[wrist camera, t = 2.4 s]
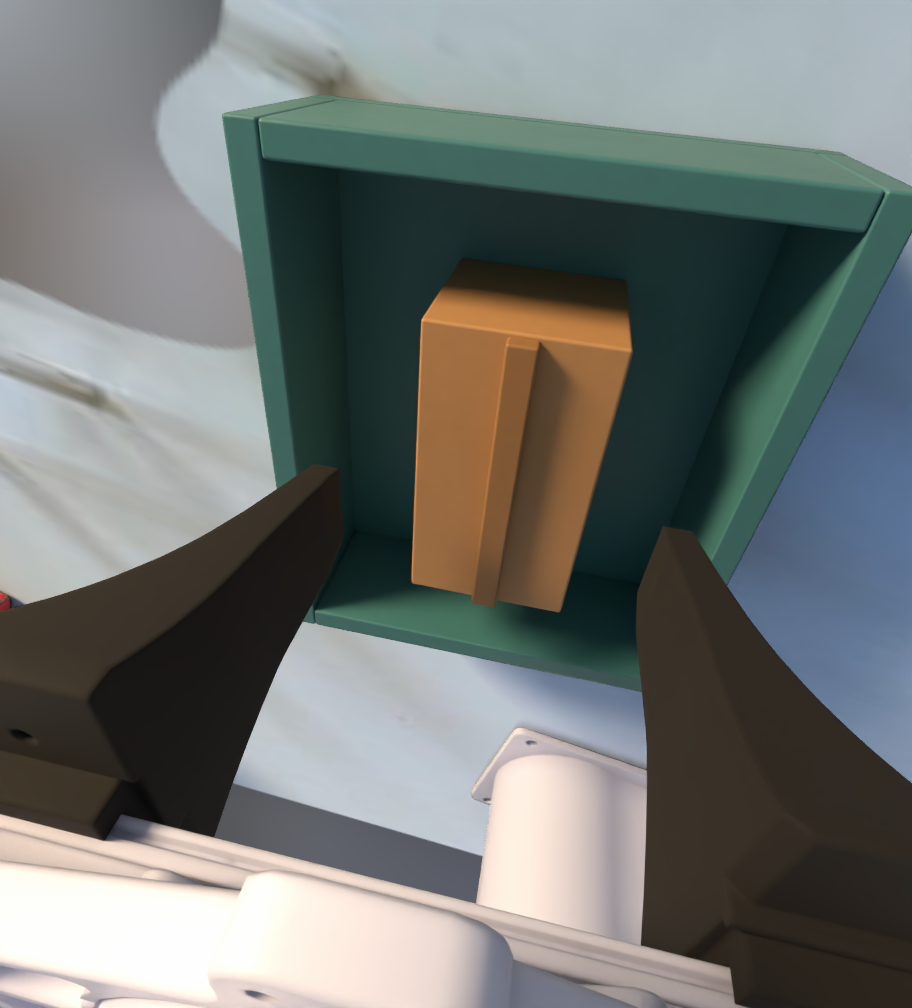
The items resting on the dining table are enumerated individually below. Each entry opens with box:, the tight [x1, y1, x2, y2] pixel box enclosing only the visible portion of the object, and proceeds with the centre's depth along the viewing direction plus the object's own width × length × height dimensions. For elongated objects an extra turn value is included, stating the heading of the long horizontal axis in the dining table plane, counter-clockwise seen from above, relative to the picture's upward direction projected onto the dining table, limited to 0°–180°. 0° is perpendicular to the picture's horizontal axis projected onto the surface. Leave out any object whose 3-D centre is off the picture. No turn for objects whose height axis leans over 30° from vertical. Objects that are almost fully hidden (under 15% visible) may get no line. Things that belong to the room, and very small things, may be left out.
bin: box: [222, 95, 912, 692], centre depth 17 cm, size 12×14×5 cm
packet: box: [411, 258, 633, 612], centre depth 16 cm, size 4×8×5 cm, turn 176°
